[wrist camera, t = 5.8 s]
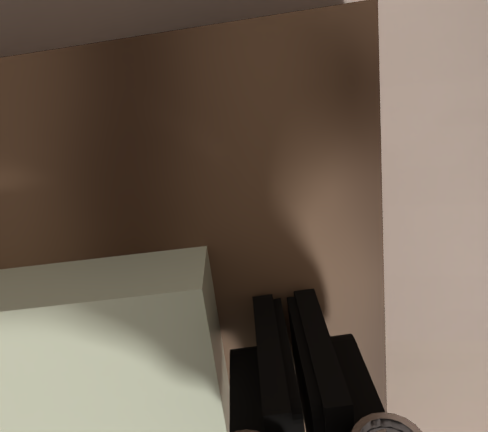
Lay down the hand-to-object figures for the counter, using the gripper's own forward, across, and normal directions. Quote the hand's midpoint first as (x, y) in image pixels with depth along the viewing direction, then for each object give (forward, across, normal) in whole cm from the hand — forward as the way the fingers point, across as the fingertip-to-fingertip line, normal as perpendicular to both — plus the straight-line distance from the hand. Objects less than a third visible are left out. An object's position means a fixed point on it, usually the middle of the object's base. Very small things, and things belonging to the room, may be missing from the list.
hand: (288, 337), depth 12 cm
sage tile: (0, +6, 0) cm, 6 cm away
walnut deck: (+3, +3, 0) cm, 4 cm away
